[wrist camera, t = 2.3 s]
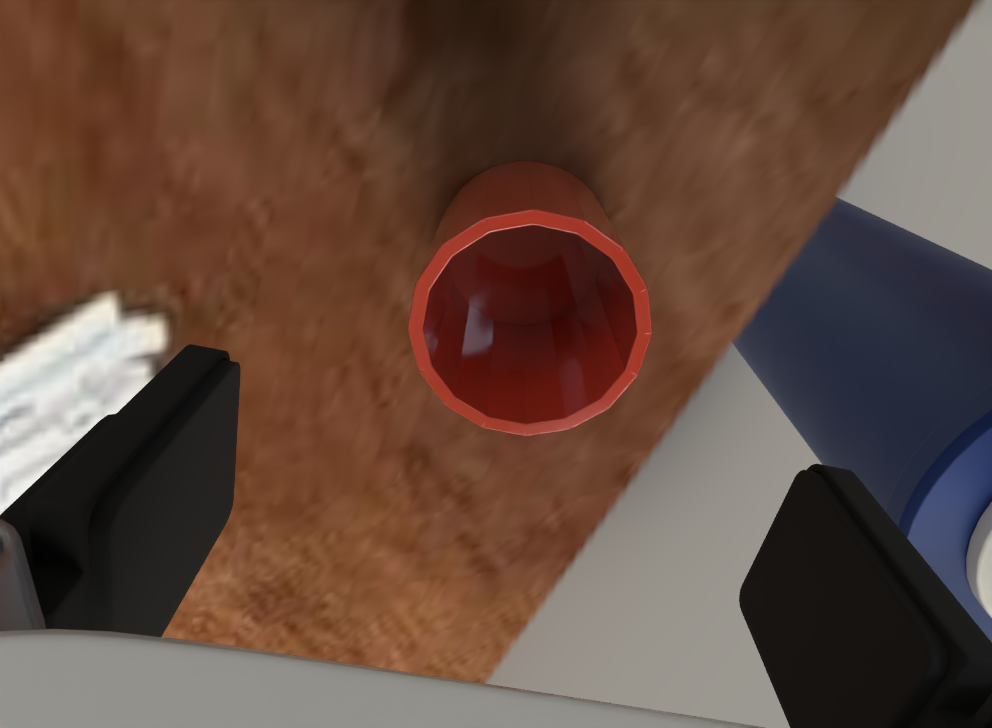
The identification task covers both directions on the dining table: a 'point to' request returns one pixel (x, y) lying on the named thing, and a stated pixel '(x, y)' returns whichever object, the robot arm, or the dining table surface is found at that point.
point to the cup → (528, 303)
